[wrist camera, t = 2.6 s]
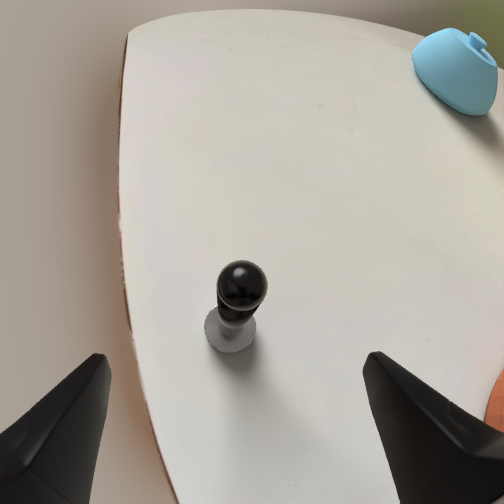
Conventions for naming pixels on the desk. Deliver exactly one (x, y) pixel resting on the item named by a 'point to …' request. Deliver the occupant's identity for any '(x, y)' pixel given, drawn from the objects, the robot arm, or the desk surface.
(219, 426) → the desk surface
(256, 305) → the black rod on stand
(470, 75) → the sugar bowl
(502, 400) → the bowl
